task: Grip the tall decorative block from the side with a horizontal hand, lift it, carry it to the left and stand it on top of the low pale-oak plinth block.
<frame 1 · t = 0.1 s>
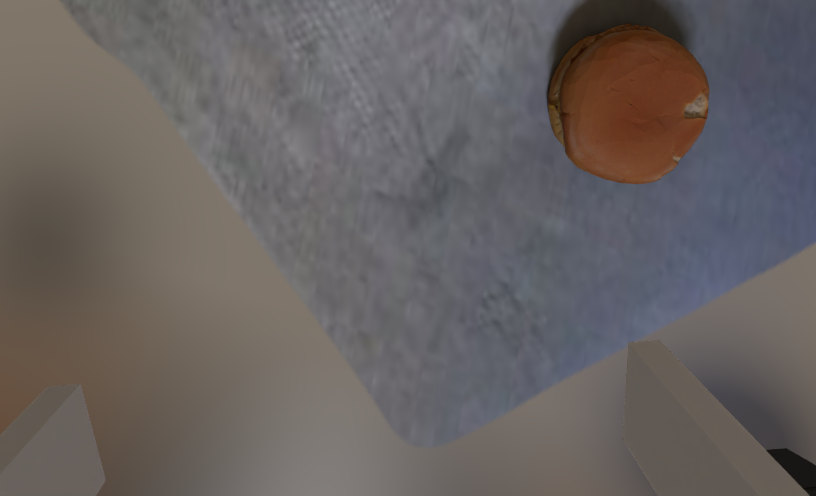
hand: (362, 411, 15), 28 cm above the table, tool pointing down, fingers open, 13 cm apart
burger: (615, 102, 41), on the table
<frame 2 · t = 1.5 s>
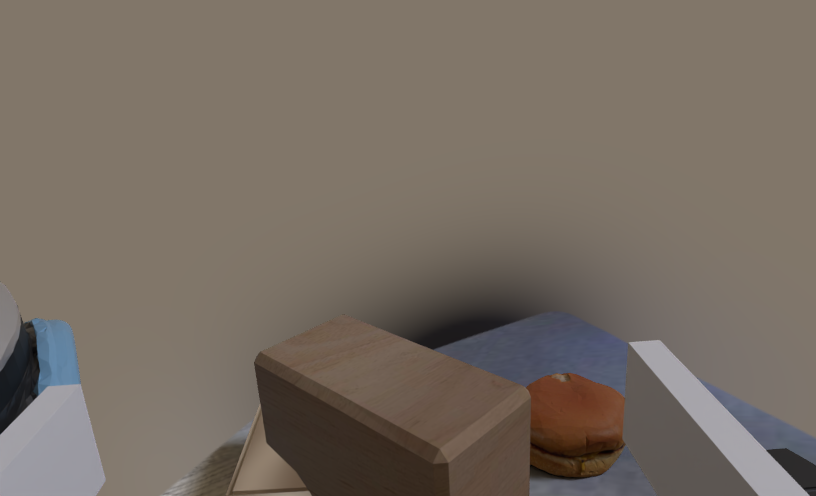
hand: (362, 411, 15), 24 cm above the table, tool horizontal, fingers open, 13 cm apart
burger: (568, 443, 51), on the table
plinth: (338, 494, 46), on the table
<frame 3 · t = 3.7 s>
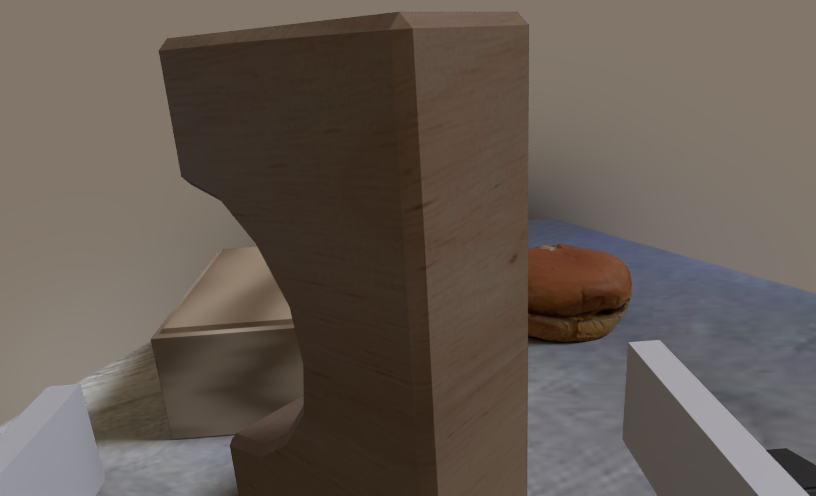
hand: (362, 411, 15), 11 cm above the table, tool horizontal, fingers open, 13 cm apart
burger: (560, 317, 45), on the table
plinth: (299, 366, 39), on the table
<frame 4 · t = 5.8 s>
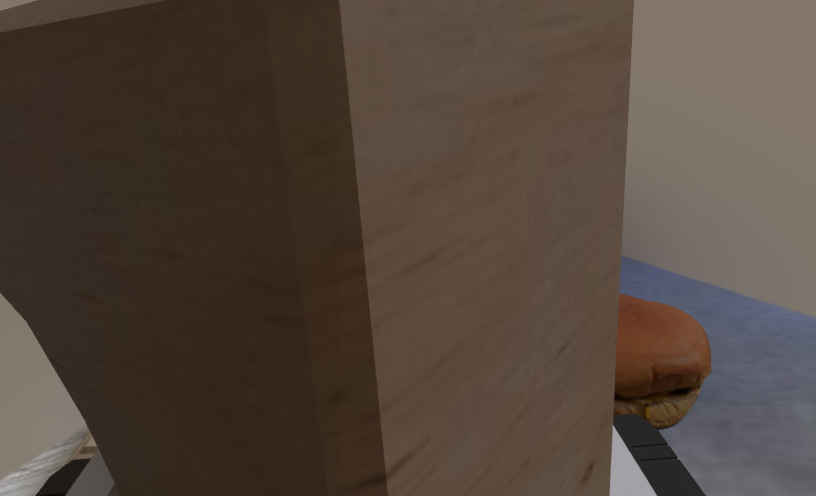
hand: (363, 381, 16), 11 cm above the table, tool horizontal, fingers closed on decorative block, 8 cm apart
burger: (615, 389, 35), on the table
plinth: (285, 463, 30), on the table
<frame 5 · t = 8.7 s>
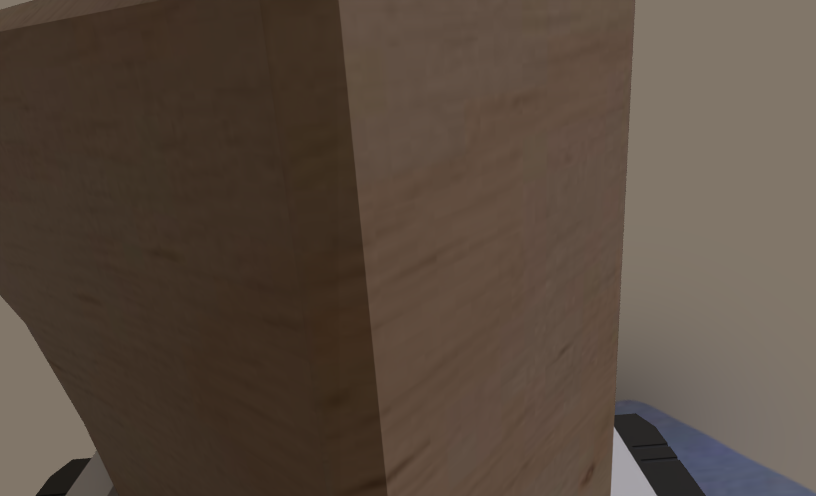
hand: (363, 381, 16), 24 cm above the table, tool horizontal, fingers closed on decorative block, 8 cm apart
when the fingers open (18 cm above the table, at t = 11.3 s): decorative block stays where it is, resting on plinth.
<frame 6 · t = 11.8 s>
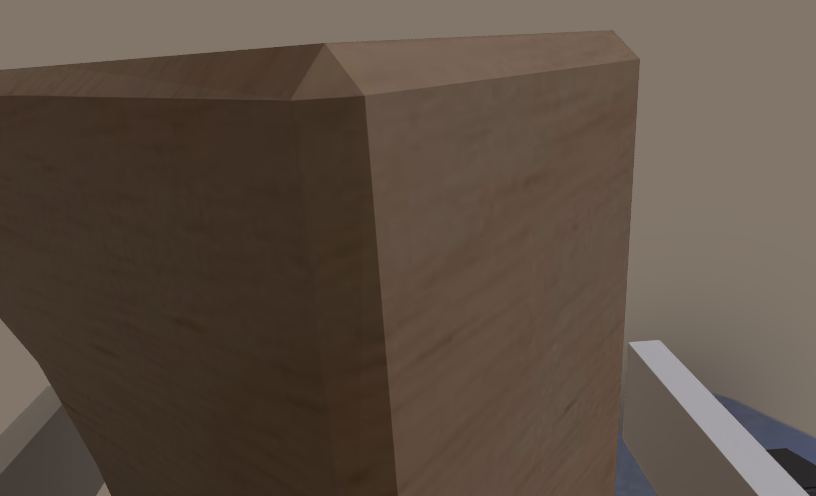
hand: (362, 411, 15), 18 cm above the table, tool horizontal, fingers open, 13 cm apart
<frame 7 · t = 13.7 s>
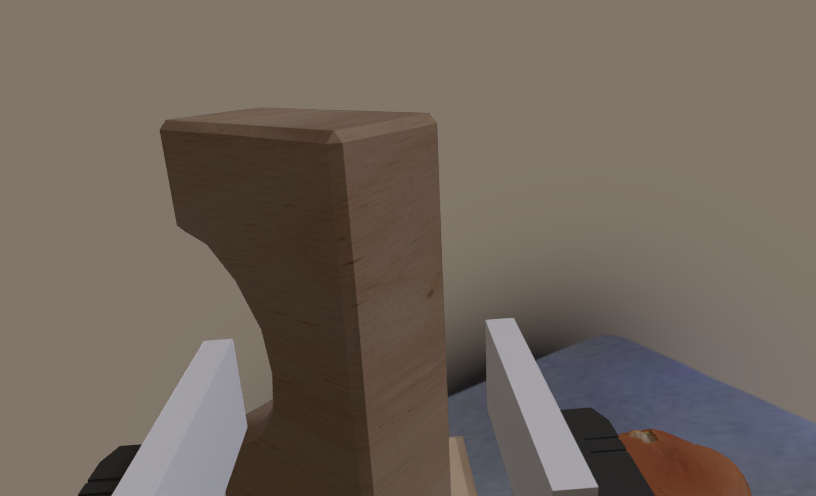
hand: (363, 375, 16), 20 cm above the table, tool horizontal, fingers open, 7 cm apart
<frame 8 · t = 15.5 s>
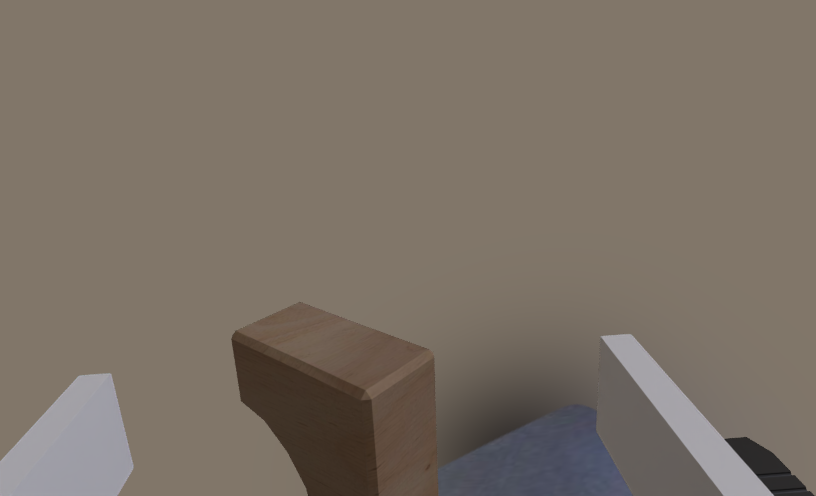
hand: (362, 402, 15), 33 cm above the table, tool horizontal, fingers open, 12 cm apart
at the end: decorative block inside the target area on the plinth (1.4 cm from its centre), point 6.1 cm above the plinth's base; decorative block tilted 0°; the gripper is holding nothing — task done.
